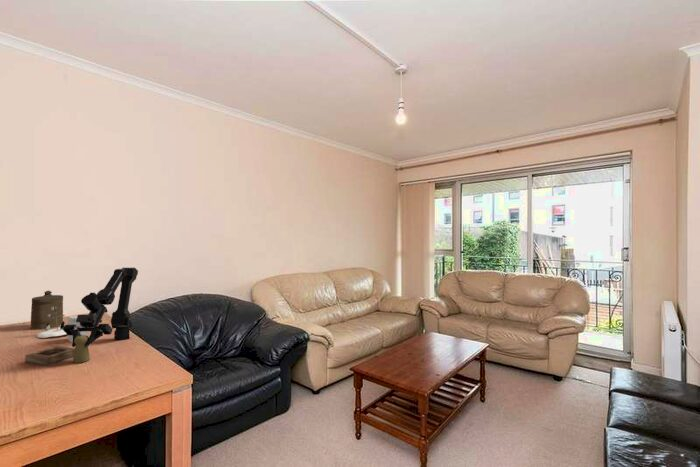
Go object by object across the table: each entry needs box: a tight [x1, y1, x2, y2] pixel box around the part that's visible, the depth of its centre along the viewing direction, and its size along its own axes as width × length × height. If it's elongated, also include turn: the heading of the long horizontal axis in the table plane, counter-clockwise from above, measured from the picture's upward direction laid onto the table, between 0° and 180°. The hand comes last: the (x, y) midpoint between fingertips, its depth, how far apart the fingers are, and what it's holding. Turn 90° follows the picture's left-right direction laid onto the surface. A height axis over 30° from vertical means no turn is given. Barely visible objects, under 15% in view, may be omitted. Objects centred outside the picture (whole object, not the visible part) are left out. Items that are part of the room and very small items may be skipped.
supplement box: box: [67, 315, 89, 343], centre depth 183 cm, size 7×7×13 cm
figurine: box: [36, 307, 67, 339], centre depth 193 cm, size 20×18×16 cm
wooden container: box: [30, 290, 64, 330], centre depth 208 cm, size 15×15×22 cm
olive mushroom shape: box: [72, 335, 91, 364], centre depth 152 cm, size 6×6×11 cm
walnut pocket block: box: [24, 345, 75, 367], centre depth 153 cm, size 13×13×4 cm
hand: (79, 346), depth 150 cm, fingers closed on olive mushroom shape, 5 cm apart
